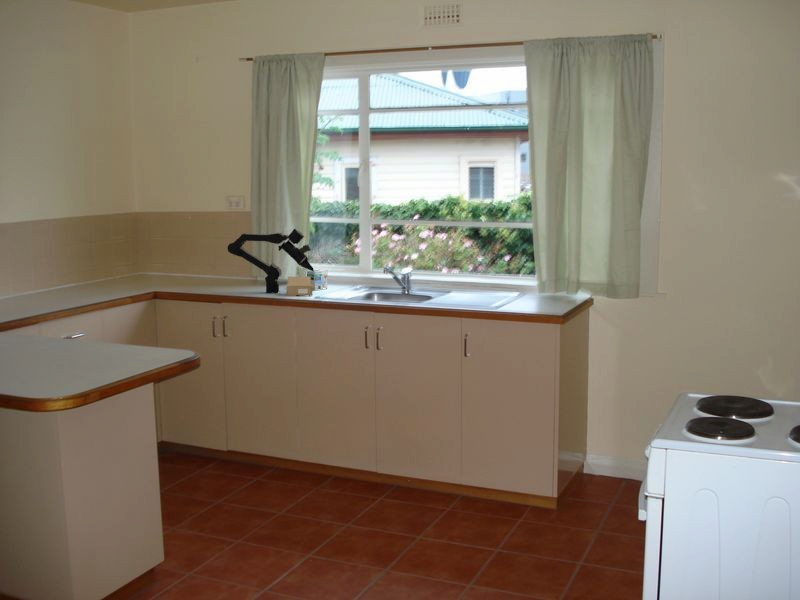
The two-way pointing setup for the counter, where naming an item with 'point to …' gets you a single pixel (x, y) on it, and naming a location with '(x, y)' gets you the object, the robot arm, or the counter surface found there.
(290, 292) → the carton
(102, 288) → the counter surface
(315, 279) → the light bulb box
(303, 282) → the flap near
